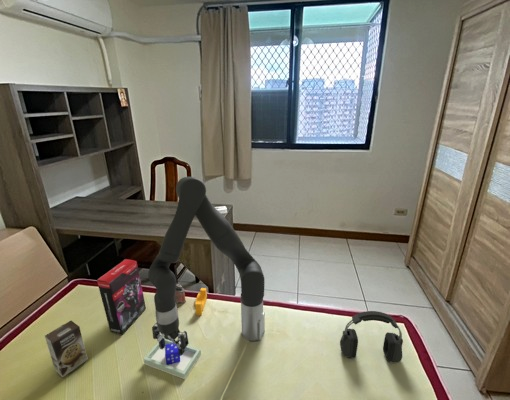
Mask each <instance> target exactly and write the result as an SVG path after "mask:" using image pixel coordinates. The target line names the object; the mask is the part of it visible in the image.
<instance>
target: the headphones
mask: <svg viewBox="0 0 510 400" xmlns="http://www.w3.org/2000/svg"><path fill="white" fill-rule="evenodd" d="M371 321H374V322H375V321H376V322H383V323H385V324H391V326H392V327H393V328H395V329H397V330H398V334H399V335H398V334H397V333H394V332H386V333H385V335H384V340H383V345H382V352H383V354H384V357H385V359H386V360H387V362H390V363H400V362H401V361H402V360H403V345H404V344H403V343H404V340H403V335H402V334H403V333H402V331H401V329H400V326H399V325H398V324H397V321H396V320H395V319H394V318H393V317H392V316H391V315H390V314H387V313H385V312H383V311H377V310H367V311H363V312H358V313H356V314H354V315H353V316H352V317H351V320H350V321H349V322H347V323H346V325H345V327H344V330H342V335H341V338H340V340H339V346H340V351H341V353H342V355H343V356H344V357H347V358H350V359H354V358H356V357H357V354H358V353H357V352H358V347H359V346H358V345H359V337H358V334H357V331H356V330H355V328H349V327H350V326H351V325H352V324H354V325H355V326H356V325H358V324H360V323H361V322H371Z"/></svg>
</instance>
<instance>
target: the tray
mask: <svg viewBox="0 0 510 400" xmlns="http://www.w3.org/2000/svg"><path fill="white" fill-rule="evenodd" d="M163 338H164V337H163ZM164 339H165V338H164ZM171 343H173V342H172V341H170V340H167V339H165V345H166V344H171ZM179 344H181V342H179ZM201 355H202V350H201V349H200V348H197V347H195V346H192V345H189V344H188V345H187V346H186V348H185V352H184V353H183V355H181V356H180V362H177V363H173V364H169V365H166V358H165V347H164V348H163V349H160V347H159V342H158V341H157V343H156V344H155V345H154V346H153V347H152V348H151V350H150V351H149V352H148V353H147V354H146V355H145V356H144V358H143V363H144V365H146V366H148V367H151V368H153V369H156V370H159V371H162V372H164V373H165V374H166V373H167V374H170V375H172V376H175V377H177V378H180V379H183V380H186V378H187V377H188V376H189V374H190V372H191V371H192V369H193V368H194V366H195V364H196V363H197V362H198V360H199V358H200V357H201Z"/></svg>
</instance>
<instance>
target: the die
mask: <svg viewBox="0 0 510 400" xmlns="http://www.w3.org/2000/svg"><path fill="white" fill-rule="evenodd" d="M165 358H166V365H169V364H173V363H177V362H180V356H179V351H178V347H177V345H174V344H173V343H171V344H166V345H165Z"/></svg>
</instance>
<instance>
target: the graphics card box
mask: <svg viewBox="0 0 510 400" xmlns="http://www.w3.org/2000/svg"><path fill="white" fill-rule="evenodd" d="M96 282H97V287H98V290H99V295H100V297H101V301H102V304H103V309H104V313H105V317H106V320H107V324H108V328H109V332H110V333H112V334H116V335H117V334H118V335H124V333H125V332H126V331H127V330H128V329H129V328H130V327H131V326H132V325H133V323H134V322H135V321H136V320H137V319H138V318H139V316H141V315H142V314H143V312H144V311H145V310H146V309H147V307H146V302H145V296H144V292H143V286H142V282H141V277H140V272H139V267H138V261H137V260H135V259H127V258H124V259H123V260H122V261H120V263H118V264H117V265H115V266H114V267H112V268H111V269H110V270H109V271H107V272H106V273H105V274H103V275H102V276H100V277H99V278H97V279H96Z"/></svg>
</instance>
